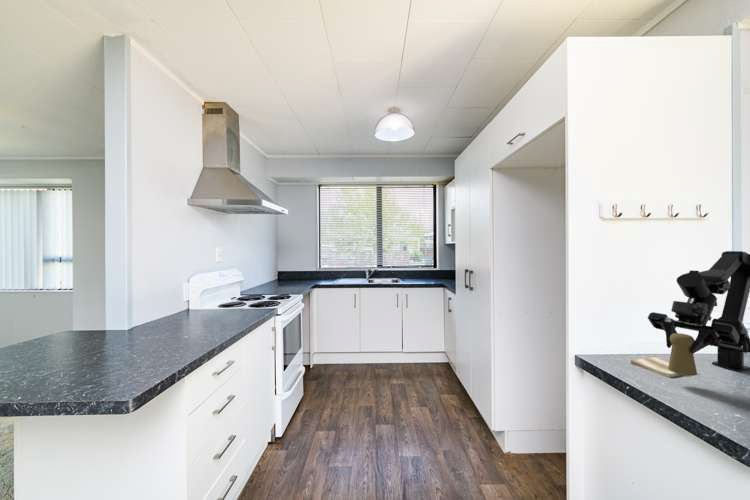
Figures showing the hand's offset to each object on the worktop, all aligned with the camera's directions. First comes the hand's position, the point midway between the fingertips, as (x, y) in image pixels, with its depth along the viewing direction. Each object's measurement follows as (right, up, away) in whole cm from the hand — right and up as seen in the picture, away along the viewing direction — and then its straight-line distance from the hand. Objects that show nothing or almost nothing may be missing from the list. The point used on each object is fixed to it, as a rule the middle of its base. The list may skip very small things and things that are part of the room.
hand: (679, 349), depth 89 cm
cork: (+1, -7, +1) cm, 7 cm away
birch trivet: (+7, -10, +13) cm, 18 cm away
